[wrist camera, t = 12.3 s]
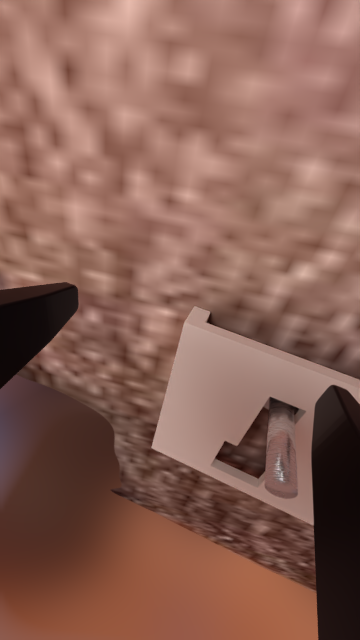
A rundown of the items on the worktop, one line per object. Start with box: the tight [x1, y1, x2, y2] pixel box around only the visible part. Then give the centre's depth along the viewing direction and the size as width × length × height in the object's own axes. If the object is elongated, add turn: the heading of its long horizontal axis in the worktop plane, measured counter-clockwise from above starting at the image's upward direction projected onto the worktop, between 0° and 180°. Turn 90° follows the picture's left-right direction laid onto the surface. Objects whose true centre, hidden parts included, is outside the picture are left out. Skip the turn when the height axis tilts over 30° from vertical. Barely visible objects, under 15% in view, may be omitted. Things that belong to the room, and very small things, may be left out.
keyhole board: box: [152, 306, 360, 525], centre depth 25 cm, size 20×20×3 cm
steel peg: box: [264, 397, 300, 499], centre depth 20 cm, size 4×4×9 cm
